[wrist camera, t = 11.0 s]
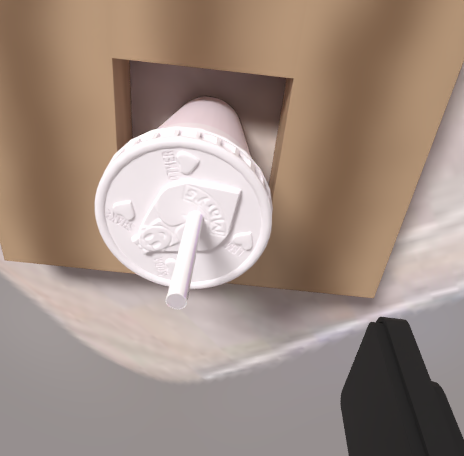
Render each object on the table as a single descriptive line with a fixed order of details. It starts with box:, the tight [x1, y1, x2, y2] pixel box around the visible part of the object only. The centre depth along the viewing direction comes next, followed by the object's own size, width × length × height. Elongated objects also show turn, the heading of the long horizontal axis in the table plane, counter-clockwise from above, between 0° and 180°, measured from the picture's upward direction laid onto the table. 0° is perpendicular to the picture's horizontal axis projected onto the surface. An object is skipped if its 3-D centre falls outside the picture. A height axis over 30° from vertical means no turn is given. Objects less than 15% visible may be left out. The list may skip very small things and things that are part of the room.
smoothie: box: [95, 97, 273, 309], centre depth 17 cm, size 6×6×14 cm
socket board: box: [0, 0, 464, 298], centre depth 22 cm, size 22×16×3 cm
